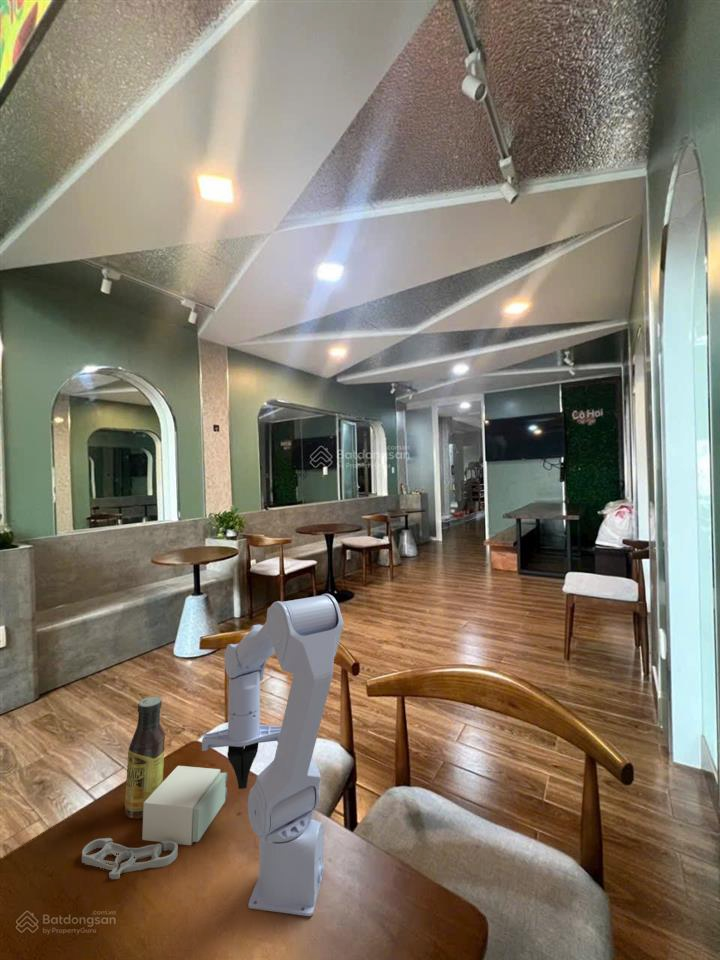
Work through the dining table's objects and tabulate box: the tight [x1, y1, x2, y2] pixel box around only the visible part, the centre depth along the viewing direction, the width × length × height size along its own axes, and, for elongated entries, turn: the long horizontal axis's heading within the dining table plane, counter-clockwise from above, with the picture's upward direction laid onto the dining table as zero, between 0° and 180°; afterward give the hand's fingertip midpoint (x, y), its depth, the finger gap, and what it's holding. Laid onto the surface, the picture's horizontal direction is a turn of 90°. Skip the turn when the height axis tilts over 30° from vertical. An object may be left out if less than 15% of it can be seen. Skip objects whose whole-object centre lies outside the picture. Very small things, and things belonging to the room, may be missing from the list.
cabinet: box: [141, 765, 221, 846], centre depth 71 cm, size 9×10×6 cm
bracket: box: [81, 837, 179, 880], centre depth 63 cm, size 8×2×15 cm
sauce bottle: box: [124, 696, 166, 820], centre depth 75 cm, size 7×6×20 cm
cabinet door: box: [193, 771, 228, 843], centre depth 71 cm, size 1×10×5 cm, turn 171°
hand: (243, 785), depth 72 cm, fingers closed
